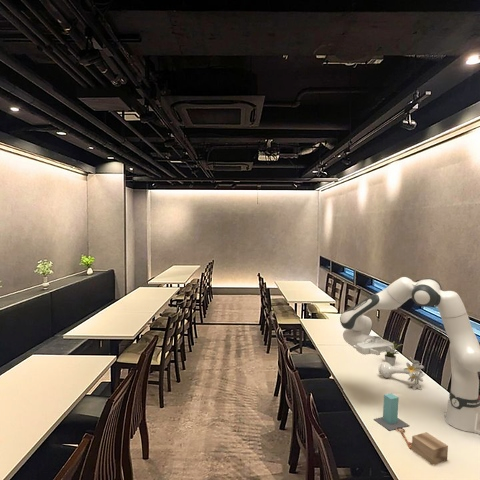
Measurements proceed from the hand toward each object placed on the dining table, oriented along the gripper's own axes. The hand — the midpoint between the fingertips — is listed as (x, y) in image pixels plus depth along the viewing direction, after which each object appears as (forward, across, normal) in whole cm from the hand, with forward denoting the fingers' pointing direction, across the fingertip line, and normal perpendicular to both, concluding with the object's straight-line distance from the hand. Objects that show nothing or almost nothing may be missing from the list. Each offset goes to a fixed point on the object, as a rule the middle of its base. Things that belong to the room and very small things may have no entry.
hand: (386, 352), depth 182 cm
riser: (+33, -8, +30) cm, 45 cm away
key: (+21, -7, +30) cm, 38 cm away
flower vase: (-24, +36, +30) cm, 53 cm away
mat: (+9, -4, +30) cm, 32 cm away
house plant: (-47, +52, +30) cm, 76 cm away
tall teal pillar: (+8, -4, +30) cm, 31 cm away
